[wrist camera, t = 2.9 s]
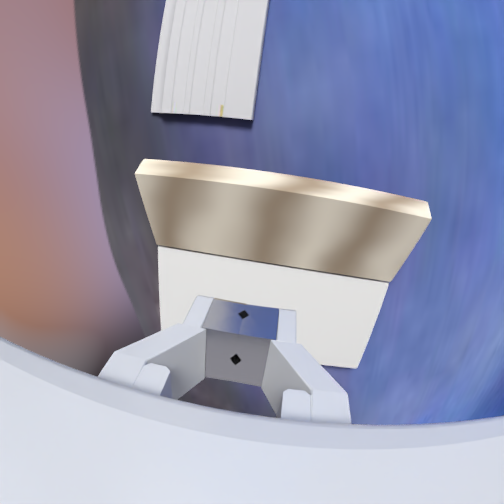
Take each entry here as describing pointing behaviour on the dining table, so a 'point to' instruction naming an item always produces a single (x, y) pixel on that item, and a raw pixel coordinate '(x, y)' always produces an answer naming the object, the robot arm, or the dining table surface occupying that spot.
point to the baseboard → (210, 57)
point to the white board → (277, 298)
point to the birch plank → (280, 218)
